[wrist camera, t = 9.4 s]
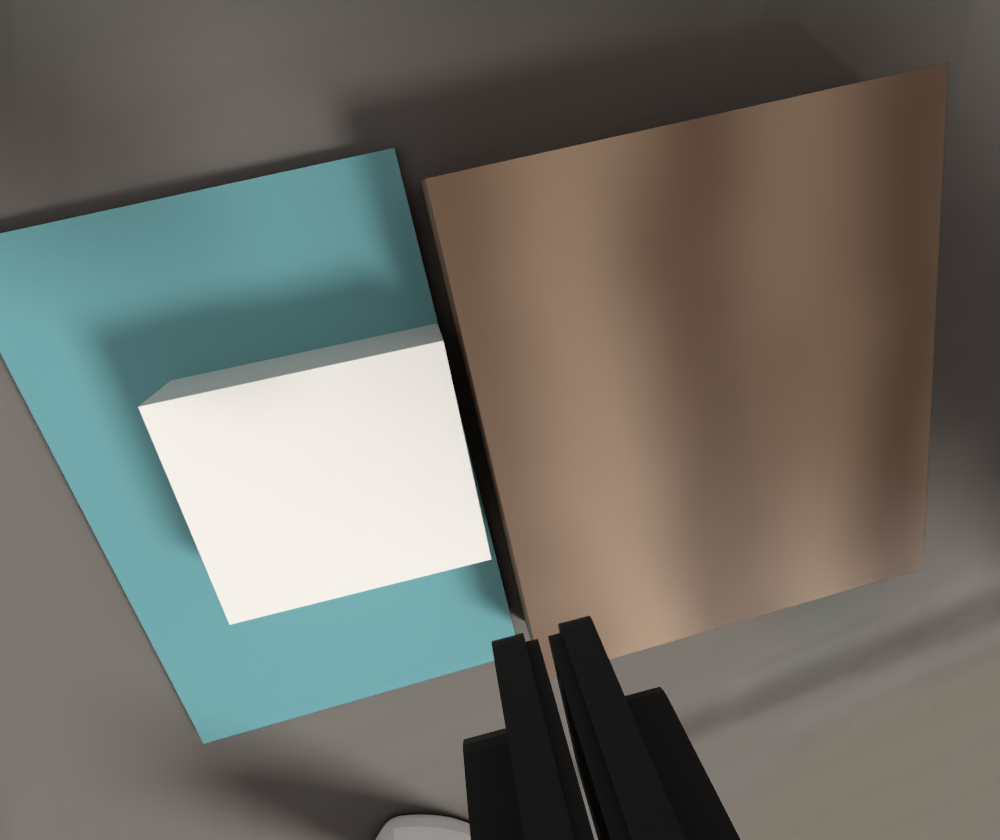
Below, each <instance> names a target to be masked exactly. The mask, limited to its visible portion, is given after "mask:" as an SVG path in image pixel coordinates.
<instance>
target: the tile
mask: <svg viewBox="0 0 1000 840" xmlns="http://www.w3.org/2000/svg"><path fill="white" fill-rule="evenodd" d="M138 408H139V411H140V413H141V415H142V418H143V420H144V423H145V425H146V427H147V430H148V432H149V434H150V437H151V439H152V442H153V444H154V446H155V449H156V451H157V453H158V456H159V458H160V461H161V463H162V465H163V468H164V470H165V473H166V475H167V477H168V480H169V482H170V484H171V487H172V489H173V492H174V494H175V496H176V499H177V501H178V503H179V506H180V508H181V511H182V513H183V515H184V518H185V520H186V523H187V525H188V527H189V530H190V532H191V534H192V537H193V539H194V542H195V544H196V546H197V549H198V551H199V553H200V556H201V558H202V561H203V563H204V565H205V568H206V570H207V573H208V575H209V577H210V580H211V582H212V584H213V587H214V589H215V592H216V594H217V596H218V599H219V601H220V603H221V606H222V608H223V611H224V613H225V615H226V618H227V620H228V623H229V625H231V624H235V623H239V622H243V621H247V620H251V619H255V618H259V617H263V616H267V615H271V614H275V613H279V612H283V611H287V610H291V609H295V608H299V607H303V606H307V605H311V604H315V603H319V602H323V601H327V600H331V599H335V598H339V597H343V596H347V595H351V594H355V593H359V592H363V591H367V590H371V589H375V588H379V587H383V586H387V585H391V584H395V583H400V582H404V581H408V580H412V579H416V578H420V577H424V576H428V575H432V574H436V573H440V572H444V571H448V570H452V569H456V568H460V567H464V566H468V565H472V564H476V563H480V562H484V561H488V560H492V559H491V555H490V550H489V545H488V541H487V536H486V532H485V527H484V523H483V518H482V514H481V509H480V505H479V500H478V495H477V491H476V486H475V482H474V477H473V473H472V468H471V464H470V459H469V455H468V450H467V445H466V441H465V436H464V432H463V427H462V423H461V418H460V414H459V409H458V405H457V400H456V395H455V391H454V386H453V382H452V377H451V373H450V368H449V364H448V359H447V355H446V350H445V345H444V341H443V338H442V335H441V332H440V329H439V327H438V324H432V325H428V326H423V327H418V328H414V329H409V330H404V331H400V332H395V333H390V334H386V335H381V336H376V337H372V338H367V339H362V340H358V341H353V342H348V343H344V344H339V345H334V346H330V347H325V348H320V349H316V350H311V351H306V352H302V353H297V354H292V355H288V356H283V357H278V358H273V359H269V360H264V361H259V362H255V363H250V364H245V365H241V366H236V367H231V368H227V369H222V370H217V371H213V372H208V373H203V374H199V375H194V376H189V377H185V378H180V379H175V380H171V381H170V382H168V383H167V384H166V385H165V386H163V387H162V388H161V389H160V390H158V391H157V392H156V393H155V394H153V395H152V396H151V397H150V398H148V399H147V400H146V401H145V402H143V403H142V404H141V405H140V406H138Z"/></svg>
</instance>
